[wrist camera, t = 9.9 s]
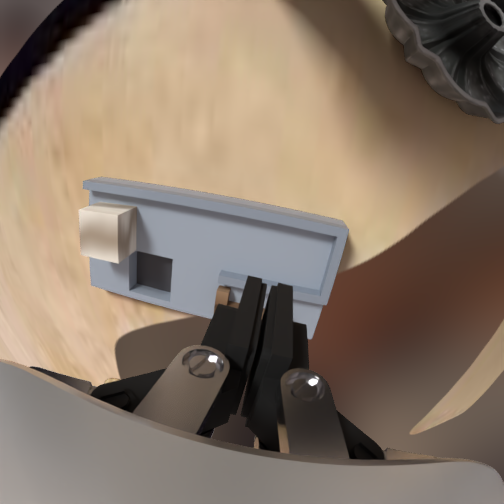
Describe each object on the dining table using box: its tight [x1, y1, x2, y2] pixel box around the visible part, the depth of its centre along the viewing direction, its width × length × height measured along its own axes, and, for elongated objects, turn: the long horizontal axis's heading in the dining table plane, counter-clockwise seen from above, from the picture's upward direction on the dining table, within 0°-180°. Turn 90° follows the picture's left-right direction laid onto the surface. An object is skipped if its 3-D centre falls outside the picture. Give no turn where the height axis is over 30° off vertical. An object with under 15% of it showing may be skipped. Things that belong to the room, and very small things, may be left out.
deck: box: [83, 177, 349, 339], centre depth 35 cm, size 15×31×4 cm, turn 80°
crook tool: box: [214, 285, 265, 320], centre depth 35 cm, size 3×9×1 cm, turn 80°
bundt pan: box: [382, 0, 504, 124], centre depth 18 cm, size 26×26×10 cm
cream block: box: [79, 202, 137, 264], centre depth 32 cm, size 6×6×4 cm
